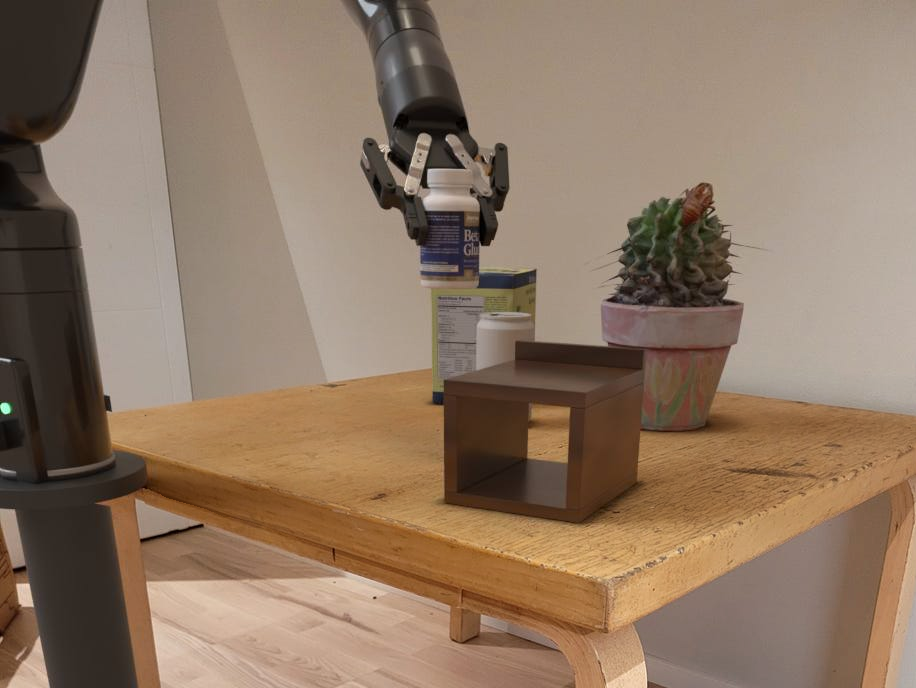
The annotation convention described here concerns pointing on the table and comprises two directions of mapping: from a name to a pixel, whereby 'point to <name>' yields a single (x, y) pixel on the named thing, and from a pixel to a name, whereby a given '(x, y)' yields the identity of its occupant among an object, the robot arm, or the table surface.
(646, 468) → the table surface
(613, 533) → the table surface
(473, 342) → the protein box
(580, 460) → the shelf
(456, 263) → the pill bottle
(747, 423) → the table surface
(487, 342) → the beverage can
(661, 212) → the potted plant
